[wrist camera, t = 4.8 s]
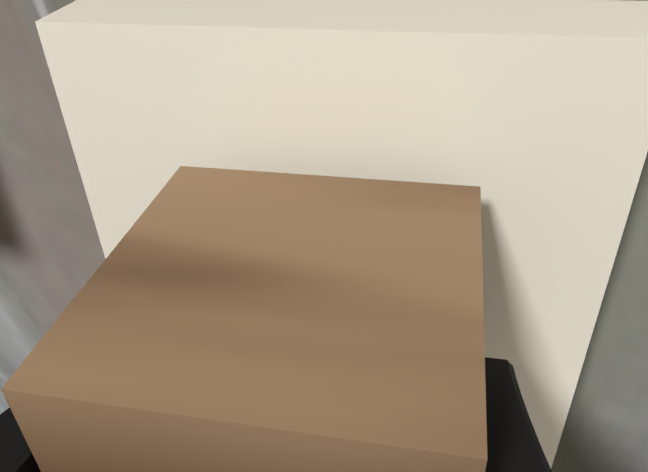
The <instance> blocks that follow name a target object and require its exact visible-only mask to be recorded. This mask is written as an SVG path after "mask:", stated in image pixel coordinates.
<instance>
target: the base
mask: <svg viewBox="0 0 648 472" xmlns="http://www.w3.org/2000/svg"><path fill="white" fill-rule="evenodd" d="M35 23H36V26H37V30H38V33H39V36H40V40H41V43H42V47H43V50H44V53H45V57H46V60H47V63H48V67H49V70H50V73H51V77H52V80H53V84H54V87H55V90H56V94H57V97H58V100H59V104H60V107H61V110H62V114H63V117H64V121H65V124H66V127H67V131H68V134H69V137H70V141H71V144H72V148H73V151H74V154H75V158H76V161H77V164H78V168H79V171H80V174H81V178H82V181H83V185H84V188H85V191H86V195H87V198H88V201H89V205H90V208H91V212H92V215H93V218H94V222H95V225H96V228H97V232H98V235H99V238H100V242H101V245H102V249H103V252H104V255H105V259H106V258H107V257H108V256H109V254H110V253H111V252H112V251H113V249H114V248H115V247H116V246H117V244H118V243H119V242H120V241H121V239H122V238H123V237H124V236H125V235H126V233H127V232H128V231H129V230H130V228H131V227H132V226H133V225H134V223H135V222H136V221H137V220H138V218H139V217H140V216H141V215H142V213H143V212H144V211H145V210H146V208H147V207H148V206H149V205H150V203H151V202H152V201H153V200H154V198H155V197H156V196H157V195H158V193H159V192H160V191H161V190H162V188H163V187H164V186H165V185H166V183H167V182H168V181H169V180H170V178H171V177H172V176H173V175H174V174H175V172H176V171H177V170H178V169H179V167H180V166H189V167H204V168H218V169H233V170H247V171H262V172H276V173H291V174H305V175H320V176H334V177H349V178H363V179H378V180H392V181H407V182H421V183H436V184H450V185H465V186H479V187H480V190H481V229H482V267H483V305H484V344H485V357H488V358H496V359H505V360H508V361H509V362H510V363H511V364H512V365H513V367H514V371H515V375H516V379H517V382H518V385H519V388H520V392H521V395H522V398H523V400H524V403H525V406H526V409H527V412H528V414H529V417H530V420H531V422H532V425H533V427H534V430H535V432H536V435H537V437H538V440H539V442H540V445H541V447H542V450H543V452H544V454H545V457H546V459H547V461H548V463H549V466H550V468H552V464H553V461H554V458H555V454H556V451H557V448H558V445H559V441H560V438H561V435H562V431H563V428H564V425H565V422H566V418H567V415H568V412H569V408H570V405H571V402H572V399H573V395H574V392H575V389H576V385H577V382H578V379H579V375H580V372H581V369H582V366H583V362H584V359H585V356H586V352H587V349H588V346H589V343H590V339H591V336H592V333H593V329H594V326H595V323H596V320H597V316H598V313H599V310H600V306H601V303H602V300H603V296H604V293H605V290H606V287H607V283H608V280H609V277H610V273H611V270H612V267H613V264H614V260H615V257H616V254H617V250H618V247H619V244H620V241H621V237H622V234H623V231H624V227H625V224H626V221H627V217H628V214H629V211H630V208H631V204H632V201H633V198H634V194H635V191H636V188H637V185H638V181H639V178H640V175H641V171H642V168H643V165H644V162H645V158H646V155H647V152H648V1H616V0H76V1H74V2H72V3H70V4H69V5H67V6H65V7H63V8H61V9H59V10H57V11H55V12H53V13H51V14H49V15H47V16H45V17H43V18H41V19H39V20H38V21H36V22H35Z"/></svg>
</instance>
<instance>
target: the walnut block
mask: <svg viewBox="0 0 648 472" xmlns="http://www.w3.org/2000/svg"><path fill="white" fill-rule="evenodd" d="M1 390H2V392H3V394H4V396H5V399H6V401H7V403H8V405H9V407H10V409H11V411H12V413H13V415H14V417H15V419H16V421H17V423H18V425H19V427H20V429H21V432H22V434H23V436H24V438H25V440H26V442H27V444H28V446H29V448H30V450H31V452H32V454H33V456H34V458H35V460H36V462H37V464H38V467H39V469H40V471H41V472H485V470H486V465H487V460H488V459H487V420H486V382H485V344H484V305H483V267H482V229H481V190H480V187H479V186H465V185H450V184H436V183H421V182H407V181H392V180H378V179H363V178H349V177H334V176H320V175H305V174H291V173H276V172H262V171H247V170H233V169H218V168H204V167H189V166H180V167H179V169H178V170H177V171H176V172H175V174H174V175H173V176H172V177H171V178H170V180H169V181H168V182H167V183H166V185H165V186H164V187H163V188H162V190H161V191H160V192H159V193H158V195H157V196H156V197H155V198H154V200H153V201H152V202H151V203H150V205H149V206H148V207H147V208H146V210H145V211H144V212H143V213H142V215H141V216H140V217H139V218H138V220H137V221H136V222H135V223H134V225H133V226H132V227H131V228H130V230H129V231H128V232H127V233H126V235H125V236H124V237H123V238H122V239H121V241H120V242H119V243H118V244H117V246H116V247H115V248H114V249H113V251H112V252H111V253H110V254H109V256H108V257H107V258H106V259H105V261H104V262H103V263H102V264H101V266H100V267H99V268H98V269H97V271H96V272H95V273H94V274H93V276H92V277H91V278H90V279H89V281H88V282H87V283H86V284H85V286H84V287H83V288H82V289H81V291H80V292H79V293H78V294H77V296H76V297H75V298H74V299H73V300H72V302H71V303H70V304H69V305H68V307H67V308H66V309H65V310H64V312H63V313H62V314H61V315H60V317H59V318H58V319H57V320H56V322H55V323H54V324H53V325H52V327H51V328H50V329H49V330H48V332H47V333H46V334H45V335H44V337H43V338H42V339H41V340H40V342H39V343H38V344H37V345H36V347H35V348H34V349H33V350H32V352H31V353H30V354H29V355H28V356H27V358H26V359H25V360H24V361H23V363H22V364H21V365H20V366H19V368H18V369H17V370H16V371H15V373H14V374H13V375H12V376H11V378H10V379H9V380H8V381H7V383H6V384H5V385H4V386H3V388H2V389H1Z"/></svg>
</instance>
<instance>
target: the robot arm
mask: <svg viewBox="0 0 648 472" xmlns="http://www.w3.org/2000/svg"><path fill="white" fill-rule="evenodd" d="M485 382H486V420H487V459H488V460H487V465H486V470H485V472H552V470H551V468H550V466H549V463H548V461H547V459H546V457H545V454H544V452H543V450H542V447H541V445H540V442H539V440H538V437H537V435H536V432H535V430H534V427H533V425H532V422H531V420H530V417H529V414H528V412H527V409H526V406H525V403H524V400H523V398H522V395H521V392H520V388H519V385H518V382H517V379H516V375H515V371H514V367H513V365H512V364H511V363H510V362H509V361H508V360H505V359H496V358H488V357H485ZM0 472H41V471H40V469H39V467H38V464H37V462H36V460H35V458H34V456H33V454H32V452H31V450H30V448H29V446H28V444H27V442H26V440H25V438H24V436H23V434H22V432H21V429H20V427H19V425H18V423H17V421H16V419H15V417H14V415H13V413H12V411H11V409H10V408H9V409H7V410H6V411H4V412H3V413H2V414H0Z"/></svg>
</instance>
